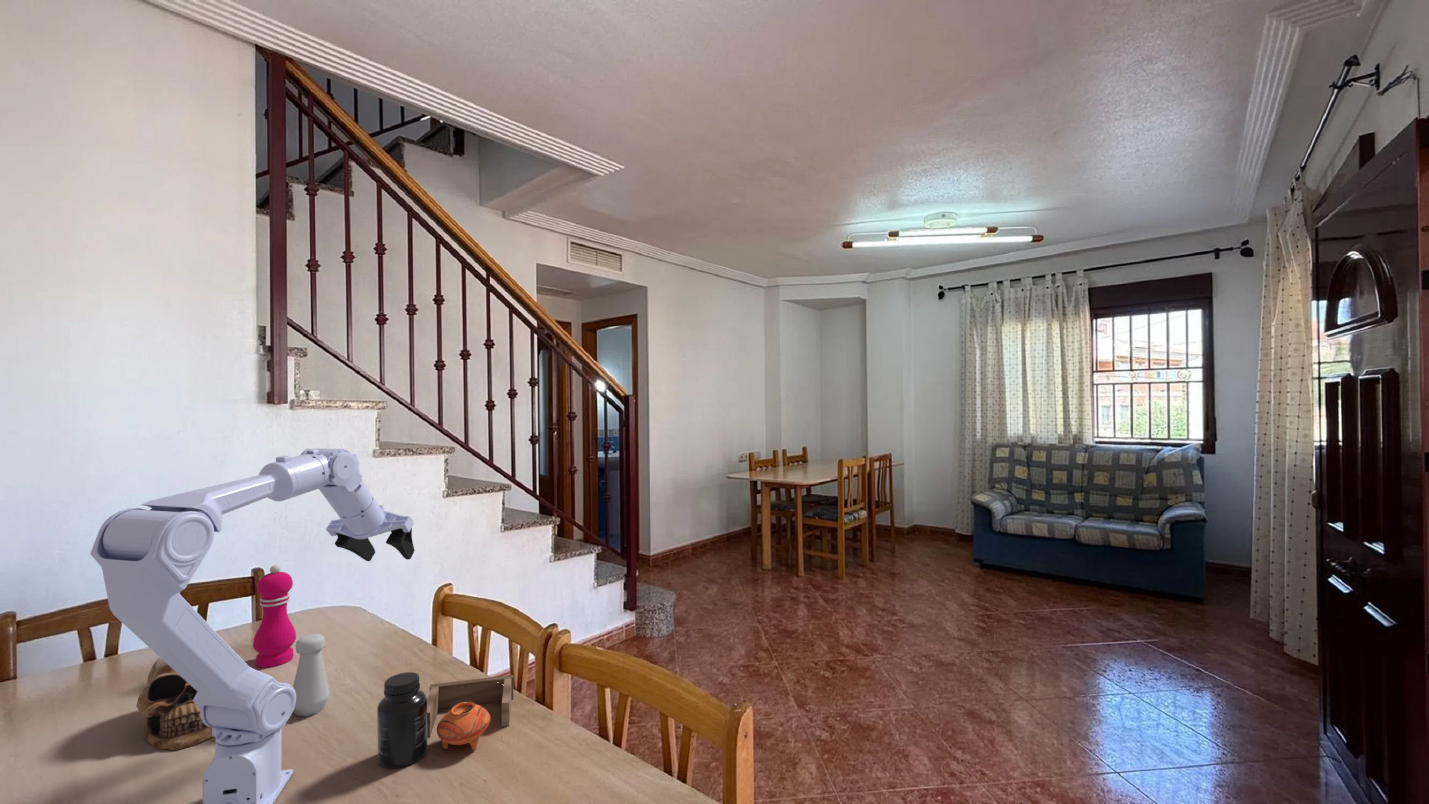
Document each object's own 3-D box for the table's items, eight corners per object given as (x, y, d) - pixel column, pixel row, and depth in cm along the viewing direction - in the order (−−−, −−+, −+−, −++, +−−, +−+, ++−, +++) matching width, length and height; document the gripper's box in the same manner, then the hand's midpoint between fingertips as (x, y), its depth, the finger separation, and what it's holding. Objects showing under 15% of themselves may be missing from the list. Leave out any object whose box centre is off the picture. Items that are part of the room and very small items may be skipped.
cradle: (510, 725, 100) (511, 701, 100) (419, 738, 96) (419, 713, 96) (513, 696, 110) (513, 674, 110) (430, 706, 106) (430, 684, 106)
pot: (504, 736, 96) (496, 700, 95) (461, 771, 90) (452, 734, 89) (474, 719, 101) (466, 685, 99) (431, 752, 95) (422, 716, 93)
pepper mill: (258, 657, 125) (258, 562, 125) (299, 651, 128) (299, 558, 128) (248, 671, 118) (248, 571, 118) (291, 665, 121) (292, 567, 121)
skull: (180, 753, 91) (177, 664, 92) (100, 748, 95) (98, 663, 96) (278, 705, 106) (274, 630, 107) (205, 703, 111) (202, 630, 111)
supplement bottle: (415, 738, 96) (415, 664, 96) (435, 754, 92) (435, 677, 92) (369, 757, 91) (369, 679, 91) (388, 776, 87) (388, 694, 86)
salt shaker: (309, 721, 101) (309, 645, 101) (281, 717, 102) (281, 641, 102) (337, 703, 107) (337, 631, 106) (310, 700, 108) (311, 628, 108)
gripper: (406, 485, 103) (437, 536, 111) (328, 490, 104) (364, 540, 112) (387, 517, 97) (421, 568, 105) (305, 521, 98) (345, 571, 107)
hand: (390, 555), depth 108 cm, fingers open, 7 cm apart
